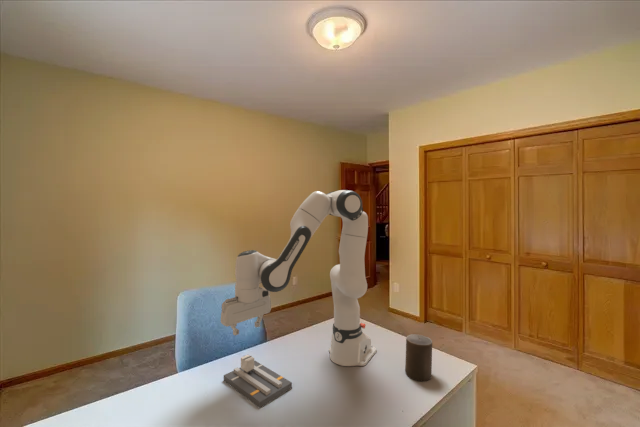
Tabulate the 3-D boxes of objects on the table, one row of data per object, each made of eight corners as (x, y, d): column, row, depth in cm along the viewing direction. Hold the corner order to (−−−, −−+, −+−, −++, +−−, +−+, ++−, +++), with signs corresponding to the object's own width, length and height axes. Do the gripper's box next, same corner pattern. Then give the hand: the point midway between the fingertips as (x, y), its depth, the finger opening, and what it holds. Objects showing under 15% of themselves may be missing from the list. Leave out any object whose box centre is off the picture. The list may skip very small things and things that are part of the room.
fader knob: (248, 367, 113) (248, 354, 113) (254, 371, 111) (254, 357, 110) (240, 371, 111) (240, 357, 111) (246, 375, 108) (246, 361, 108)
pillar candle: (418, 384, 107) (419, 343, 107) (399, 370, 116) (400, 333, 116) (437, 377, 112) (438, 338, 111) (417, 365, 120) (418, 329, 120)
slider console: (254, 365, 119) (254, 357, 119) (291, 388, 105) (291, 379, 105) (223, 380, 109) (223, 372, 109) (259, 408, 94) (259, 398, 94)
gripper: (226, 302, 100) (226, 342, 100) (273, 290, 115) (273, 324, 116) (217, 298, 104) (217, 336, 104) (263, 287, 119) (263, 320, 120)
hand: (247, 330), depth 110 cm, fingers open, 8 cm apart
